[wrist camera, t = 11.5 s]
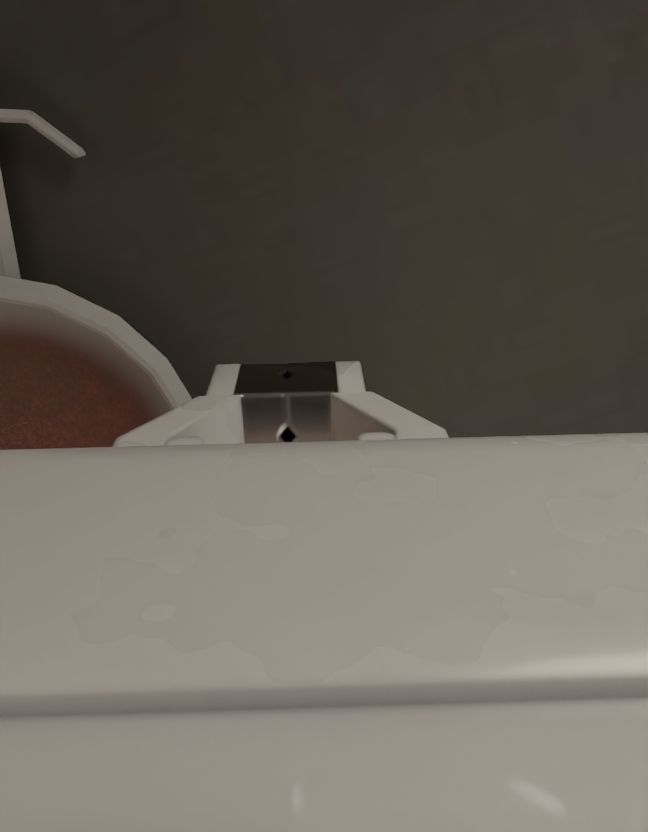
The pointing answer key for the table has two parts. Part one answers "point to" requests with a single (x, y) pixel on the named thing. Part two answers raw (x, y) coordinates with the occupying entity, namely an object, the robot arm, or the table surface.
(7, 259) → the frying pan
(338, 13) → the table surface
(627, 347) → the table surface
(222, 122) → the table surface
